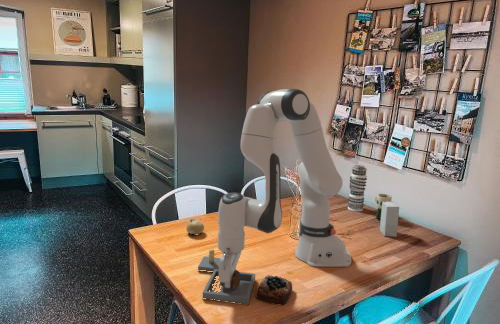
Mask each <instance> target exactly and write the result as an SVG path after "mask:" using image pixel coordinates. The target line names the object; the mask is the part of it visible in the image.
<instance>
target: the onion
mask: <svg viewBox="0 0 500 324" xmlns="http://www.w3.org/2000/svg"><path fill="white" fill-rule="evenodd" d="M204 230H205V225H204V223H203V222H202V221H201V220H199V219H196V218H191V219H190V220H189V221H188V223H187V224H186V231H187V233H188V234H189V233H190V234H189V235H192V234H199V235H201V234H202V233H203V231H204ZM200 233H201V234H200Z"/></svg>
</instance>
